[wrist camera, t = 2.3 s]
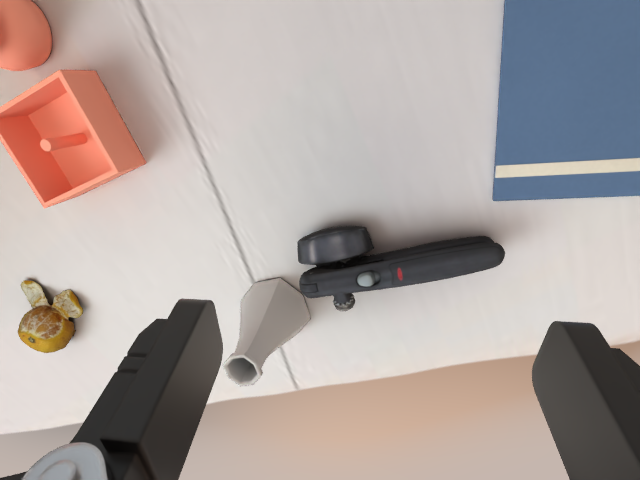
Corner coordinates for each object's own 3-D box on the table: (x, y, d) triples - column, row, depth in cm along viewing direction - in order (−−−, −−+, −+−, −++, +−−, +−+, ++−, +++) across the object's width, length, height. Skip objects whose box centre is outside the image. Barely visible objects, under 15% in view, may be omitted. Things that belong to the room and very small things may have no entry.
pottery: (146, 163, 39) (69, 188, 30) (77, 196, 42) (-12, 228, 33) (38, -34, 34) (-92, -74, 25) (-32, 19, 37) (-171, 0, 28)
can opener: (311, 291, 41) (297, 321, 36) (298, 226, 38) (282, 249, 33) (498, 279, 37) (513, 311, 31) (496, 206, 34) (512, 228, 29)
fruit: (85, 294, 47) (61, 311, 43) (88, 350, 50) (65, 370, 47) (22, 276, 48) (-7, 291, 44) (28, 332, 51) (2, 350, 47)
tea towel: (507, -52, 28) (509, -54, 27) (694, -82, 25) (699, -85, 25) (492, 199, 34) (493, 201, 34) (640, 194, 32) (643, 195, 31)
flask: (230, 296, 43) (184, 355, 34) (282, 265, 40) (247, 320, 31) (270, 346, 44) (236, 416, 35) (323, 320, 42) (301, 387, 33)
